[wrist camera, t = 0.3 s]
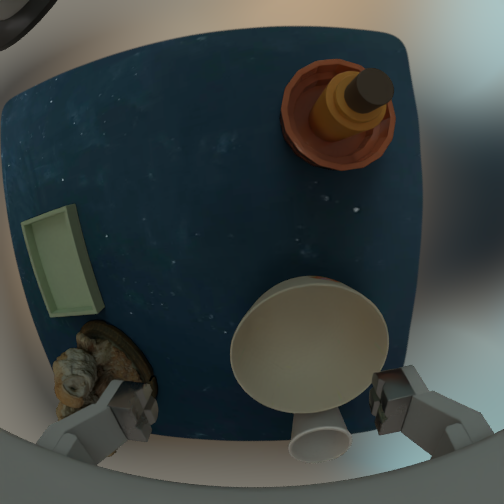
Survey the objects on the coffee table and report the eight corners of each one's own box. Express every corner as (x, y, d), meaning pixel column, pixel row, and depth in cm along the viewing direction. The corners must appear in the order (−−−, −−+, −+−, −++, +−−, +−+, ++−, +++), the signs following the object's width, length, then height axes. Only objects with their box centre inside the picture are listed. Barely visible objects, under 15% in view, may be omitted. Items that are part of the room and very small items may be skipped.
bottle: (299, 113, 31) (321, 70, 16) (335, 92, 30) (380, 41, 15) (324, 150, 31) (367, 137, 17) (360, 128, 30) (423, 104, 16)
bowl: (218, 329, 39) (202, 376, 29) (283, 226, 35) (288, 250, 25) (316, 378, 40) (324, 428, 31) (387, 292, 36) (418, 330, 26)
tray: (30, 219, 37) (20, 222, 34) (75, 203, 35) (65, 205, 33) (58, 311, 40) (50, 317, 38) (105, 306, 39) (97, 313, 37)
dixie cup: (344, 376, 40) (358, 424, 30) (336, 414, 42) (346, 461, 33) (288, 378, 41) (290, 429, 31) (285, 416, 43) (286, 465, 33)
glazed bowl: (260, 106, 31) (258, 94, 25) (339, 61, 29) (351, 42, 23) (316, 187, 33) (325, 191, 27) (392, 139, 31) (414, 135, 25)
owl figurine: (179, 400, 43) (148, 483, 27) (128, 411, 45) (91, 480, 29) (114, 308, 39) (46, 377, 23) (67, 330, 41) (5, 389, 25)
